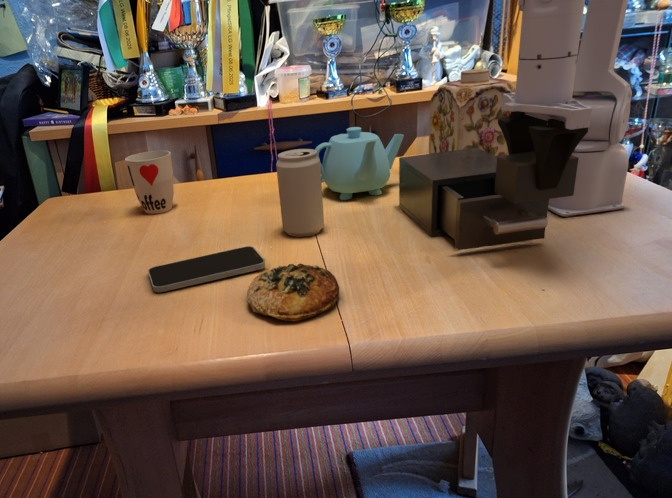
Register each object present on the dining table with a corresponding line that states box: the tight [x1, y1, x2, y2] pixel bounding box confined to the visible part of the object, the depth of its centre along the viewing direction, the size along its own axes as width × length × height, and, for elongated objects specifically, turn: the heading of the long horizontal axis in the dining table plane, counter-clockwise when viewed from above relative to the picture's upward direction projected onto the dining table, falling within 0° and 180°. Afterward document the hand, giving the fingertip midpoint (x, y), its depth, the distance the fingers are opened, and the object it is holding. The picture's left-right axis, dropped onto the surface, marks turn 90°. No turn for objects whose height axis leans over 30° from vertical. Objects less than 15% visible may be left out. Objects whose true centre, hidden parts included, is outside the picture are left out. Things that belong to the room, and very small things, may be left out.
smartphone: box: [147, 245, 266, 293], centre depth 75 cm, size 7×1×15 cm
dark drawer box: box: [437, 178, 549, 251], centre depth 74 cm, size 18×11×6 cm, turn 6°
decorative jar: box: [428, 68, 516, 157], centre depth 102 cm, size 12×12×18 cm
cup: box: [124, 150, 175, 215], centre depth 102 cm, size 8×8×10 cm
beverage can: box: [275, 148, 325, 238], centre depth 83 cm, size 6×6×12 cm
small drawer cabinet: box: [398, 148, 497, 238], centre depth 84 cm, size 15×13×8 cm
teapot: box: [314, 126, 405, 201], centre depth 99 cm, size 15×14×11 cm
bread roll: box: [246, 263, 340, 322], centre depth 64 cm, size 11×11×5 cm
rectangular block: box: [494, 151, 579, 204], centre depth 65 cm, size 7×5×4 cm
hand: (533, 182), depth 66 cm, fingers closed on rectangular block, 5 cm apart
